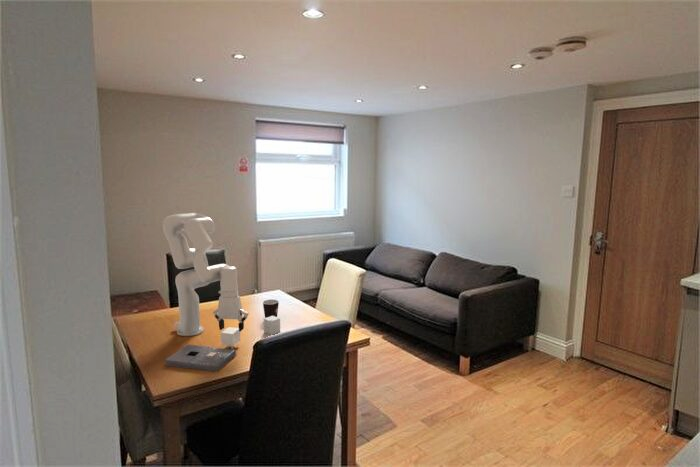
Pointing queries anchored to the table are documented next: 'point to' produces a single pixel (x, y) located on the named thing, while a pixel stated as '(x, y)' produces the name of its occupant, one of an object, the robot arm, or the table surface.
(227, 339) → the plug
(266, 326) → the skincare box
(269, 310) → the coffee mug
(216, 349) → the socket plate
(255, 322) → the table surface
